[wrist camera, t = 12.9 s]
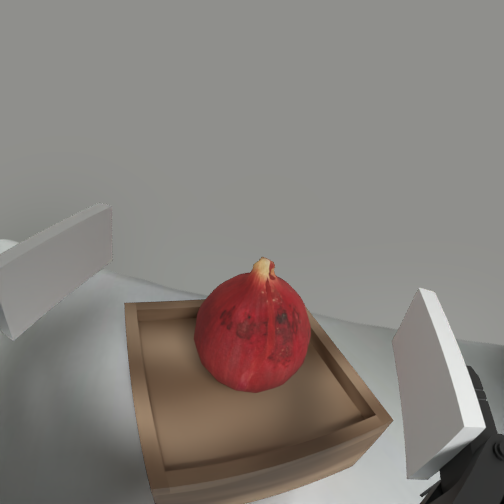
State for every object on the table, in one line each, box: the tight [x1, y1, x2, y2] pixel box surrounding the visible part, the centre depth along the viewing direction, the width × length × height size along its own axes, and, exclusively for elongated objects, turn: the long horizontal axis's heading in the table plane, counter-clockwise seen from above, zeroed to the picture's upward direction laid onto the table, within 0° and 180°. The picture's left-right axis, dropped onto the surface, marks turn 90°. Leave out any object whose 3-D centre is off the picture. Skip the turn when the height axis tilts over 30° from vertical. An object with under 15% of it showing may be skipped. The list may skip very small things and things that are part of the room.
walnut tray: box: [124, 299, 393, 504], centre depth 19 cm, size 13×13×6 cm
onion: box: [194, 257, 311, 393], centre depth 16 cm, size 6×6×8 cm
